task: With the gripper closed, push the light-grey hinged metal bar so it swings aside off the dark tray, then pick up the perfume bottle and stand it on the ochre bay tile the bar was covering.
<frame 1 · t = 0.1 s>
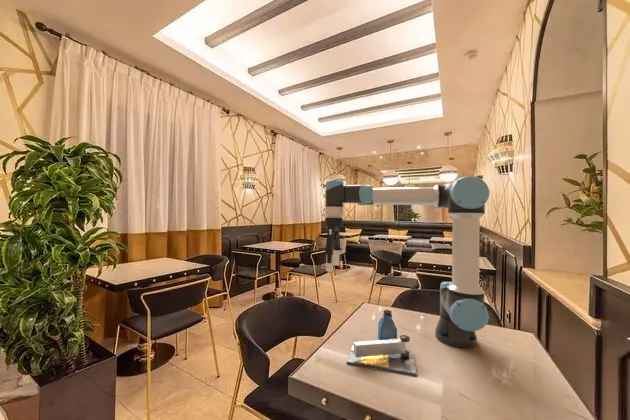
hand: (333, 268, 108), 28 cm above the table, fingers open, 13 cm apart
swing arm: (382, 346, 90), point 5 cm above the table, hinge at 0.0°
tray: (380, 360, 90), on the table
perfume bottle: (387, 342, 104), on the table
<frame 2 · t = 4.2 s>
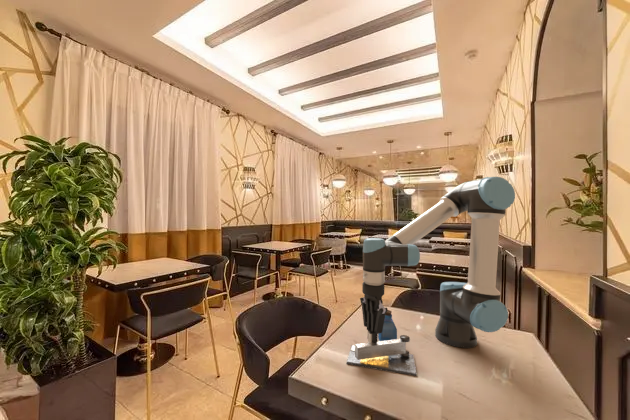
hand: (372, 350, 91), 3 cm above the table, fingers closed
swing arm: (383, 347, 90), point 5 cm above the table, hinge at 4.7°, touching gripper
everything else where it was.
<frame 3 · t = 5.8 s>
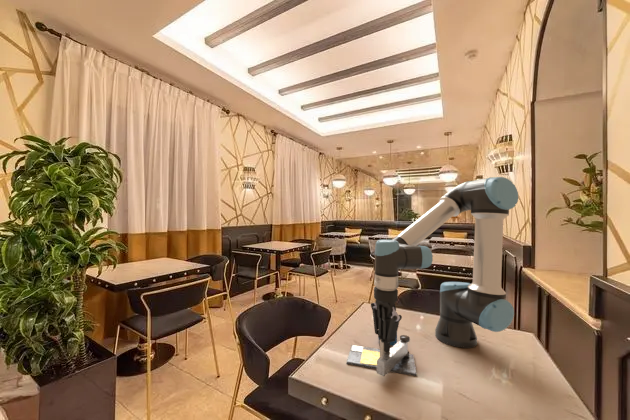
hand: (384, 359, 85), 3 cm above the table, fingers closed
swing arm: (394, 353, 85), point 5 cm above the table, hinge at 38.6°, touching gripper
everything else where it was.
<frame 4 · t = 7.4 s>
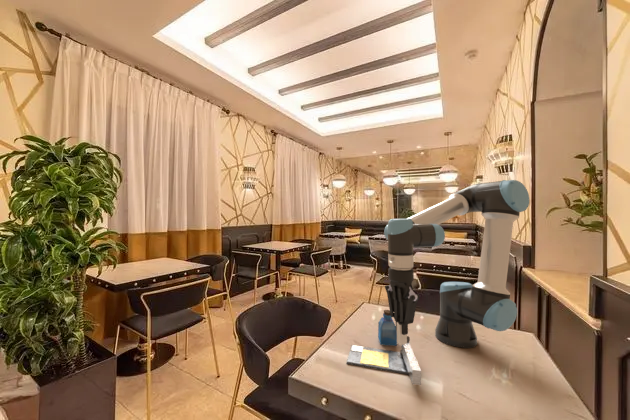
hand: (401, 343, 82), 10 cm above the table, fingers closed
swing arm: (409, 356, 84), point 5 cm above the table, hinge at 70.3°
everything else where it was.
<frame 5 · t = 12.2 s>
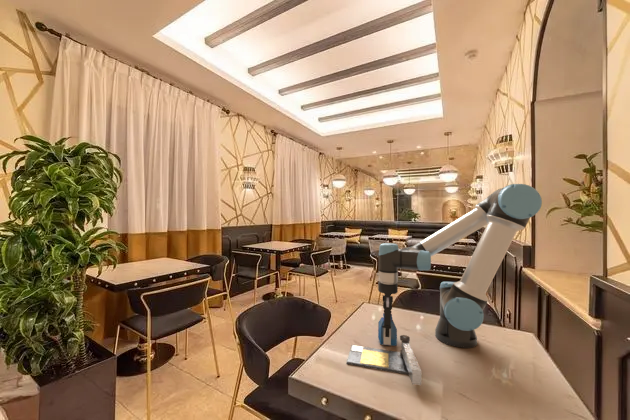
hand: (387, 339, 104), 1 cm above the table, fingers closed on perfume bottle, 7 cm apart
perfume bottle: (387, 341, 104), on the table, touching gripper
everything else where it was.
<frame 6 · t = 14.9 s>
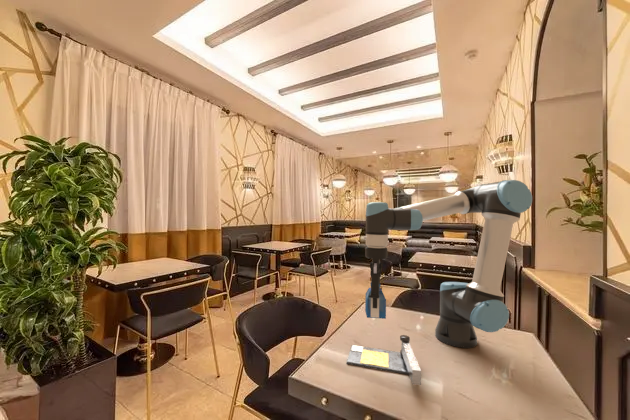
hand: (375, 313, 90), 16 cm above the table, fingers closed on perfume bottle, 7 cm apart
perfume bottle: (375, 315, 90), point 15 cm above the table, touching gripper
everything else where it was.
when the fingers open (3 cm above the table, at t = 17.5 s): perfume bottle drops 1 cm, resting on tray.
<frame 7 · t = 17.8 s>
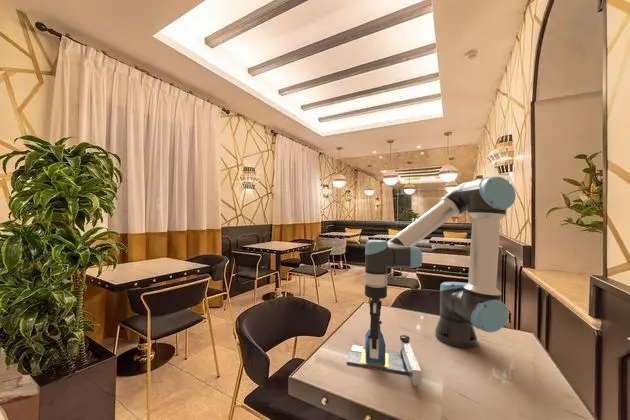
hand: (375, 349, 90), 4 cm above the table, fingers open, 10 cm apart
perfume bottle: (374, 358, 90), point 1 cm above the table, touching tray
everything else where it was.
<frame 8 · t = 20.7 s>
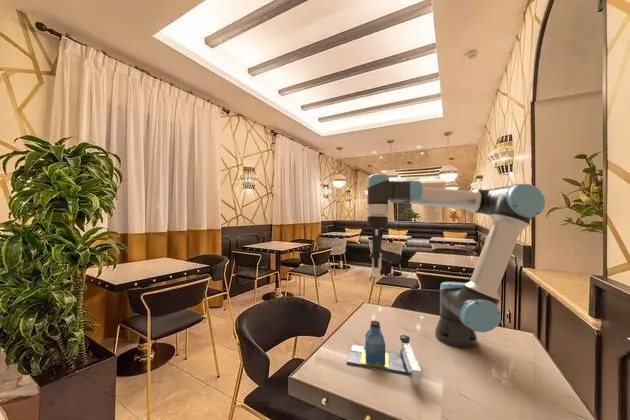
hand: (376, 272, 97), 29 cm above the table, fingers open, 13 cm apart
nothing on the table moved.
at the end: swing arm at +70° (first picture: +0°); perfume bottle inside the target area (0.0 cm from its centre), point 0.8 cm above the table; perfume bottle tilted 0° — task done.
